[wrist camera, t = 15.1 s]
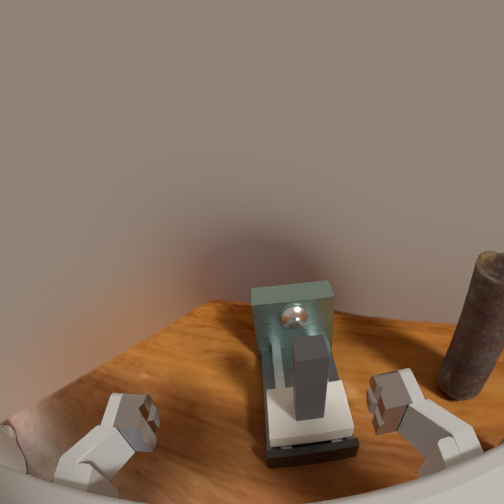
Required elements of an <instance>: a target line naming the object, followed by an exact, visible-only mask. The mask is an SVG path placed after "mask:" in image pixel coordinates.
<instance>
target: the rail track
mask: <svg viewBox="0 0 504 504" xmlns="http://www.w3.org/2000/svg"><path fill="white" fill-rule="evenodd" d="M334 297H335V296H334V293H333V291H332V288H331V286H330V283H329V281H328V280H325V281H316V282H307V283H298V284H290V285H279V286H270V287H260V288H252V289H251V299H252V312H253V319H254V327H255V334H256V341H257V349H258V356H259V358H262V373H263V391H264V409H265V427H266V445H267V451H266V458H267V463H268V468H280V467H290V466H299V465H307V464H314V463H321V462H327V461H333V460H339V459H345V458H350V457H355V456H356V454H357V451H358V448H359V442H358V438H355V439H354V435H353V434H352V436H350V437H344V438H339V439H333V440H327V441H320V442H313V443H306V444H298V445H289V446H279V447H271V446H270V439H269V423H268V407H267V391H266V390H268V389H278V388H288V387H293V364H292V338H297V337H305V336H313V335H321V334H323V335H324V339H325V342H326V346H327V349H328V353H329V370H328V381H327V382H333V381H339V378H338V374H337V370H336V367H335V363H334V360H333V356H332V352H331V349H332V336H333V320H334Z"/></svg>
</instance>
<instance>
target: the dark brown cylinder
mask: <svg viewBox="0 0 504 504" xmlns="http://www.w3.org/2000/svg"><path fill="white" fill-rule="evenodd" d="M503 347H504V253H496V252H495V251H486V252H484V253H481V254H480V255H479V257H478V258H477V261H476V264H475V268H474V272H473V276H472V279H471V282H470V286H469V290H468V293H467V296H466V299H465V303H464V306H463V309H462V313H461V316H460V319H459V322H458V324H457V327H456V330H455V333H454V335H453V338H452V340H451V343H450V346H449V348H448V351H447V353H446V356H445V358H444V361H443V363H442V365H441V368H440V370H439V373H438V385H439V387H440V389H441V390H442V391H443V392H445V393H446V394H447V395H449V396H450V397H452V398H454V399H456V400H467V399H472V398H474V397H475V396H477V395H478V394H479V392H480V391H481V389H482V388H483V386H484V384H485V383H486V381H487V379H488V377H489V375H490V373H491V372H492V370H493V368H494V366H495V364H496V362H497V360H498V358H499V356H500V354H501V351H502V349H503Z"/></svg>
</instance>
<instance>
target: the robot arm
mask: <svg viewBox="0 0 504 504" xmlns="http://www.w3.org/2000/svg"><path fill="white" fill-rule="evenodd" d="M369 383H370V386H371V387H370V388H369V389H367V395H366V398H367V407H368V410H369V412H370V413H371V414H372V415H374V417H373V420H372V423H373V426H374V430H375V433H376V435H380V434H385V433H390V432H394V431H397V432H398V433H399V434H400V435H401V436H402V437H403V438H404V439H405V440H407V441H408V442H409V443H410V444H411V445H412V446H413V447H415V448H416V449H417V450H418V451H419V452H420V453H421V454H423V455H424V456H425V457H426V460H425V461H424V463H423V464H422V465H421V467H420V468H419V470H418V473H419V476H420V478H417V479H414V480H411V481H408V482H405V483H401V484H398V485H394V486H391V487H387V488H383V489H379V490H375V491H371V492H367V493H362V494H358V495H353V496H348V497H343V498H337V499H331V500H325V501H319V502H312V503H304V504H504V443H502V444H500V445H498V446H496V447H494V448H492V449H490V450H488V451H486V452H483V449H482V447H481V445H480V443H479V440H478V438H477V436H476V434H475V432H474V430H473V428H472V426H470V425H469V424H467V423H465V422H464V421H462V420H461V419H459V418H458V417H456V416H454V415H453V414H451V413H450V412H448V411H447V410H445V409H443V408H442V407H440V406H439V405H437V404H436V403H434V402H432V401H431V400H429V399H427V400H425V398H424V396H423V394H422V392H421V389H420V387H419V385H418V383H417V381H416V379H415V377H414V375H413V373H412V371H411V369H410V368H405V369H401V370H397V371H391V372H387V373H382V374H378V375H373V376H371V377H370V381H369ZM152 401H153V400H152V398H151V396H150V395H140V394H125V393H113V394H112V395H111V396H110V398H109V401H108V404H107V407H106V410H105V413H104V416H103V419H102V422H101V425H97V426H96V427H95V428H93V429H92V430H91V431H90V432H89V433H88V434H87V435H85V436H84V437H83V438H82V439H81V440H80V441H78V442H77V443H76V444H75V445H74V446H73V447H71V448H70V449H69V450H68V451H67V452H65V453H64V454H63V455H62V456H61V457H60V459H59V462H58V465H57V468H56V471H55V474H54V477H53V480H52V482H49V481H46V480H43V479H40V478H37V477H34V476H31V475H28V474H26V473H27V470H26V462H25V458H24V455H23V453H22V451H21V450H20V448H19V446H18V445H17V442H16V434H15V431H14V429H13V428H11V427H10V426H8V425H0V504H151V503H143V502H136V501H130V500H124V499H118V496H119V490H118V489H117V488H116V487H115V486H113V485H112V484H111V483H110V481H111V479H112V478H113V477H114V476H115V475H116V474H117V472H118V471H119V470H120V469H121V468H122V467H123V465H124V464H125V463H126V462H127V461H128V460H129V458H130V457H131V456H132V455H133V454H134V453H135V451H143V452H155V447H156V441H157V437H156V436H155V434H154V433H155V432H156V431H157V430H158V429H159V425H160V415H159V411H158V409H157V407H156V406H154V405H153V404H152Z"/></svg>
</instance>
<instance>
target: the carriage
mask: <svg viewBox="0 0 504 504" xmlns="http://www.w3.org/2000/svg"><path fill="white" fill-rule="evenodd" d="M292 364H293V387H288V388H278V389H268V390H266V391H267V407H268V423H269V439H270V446H271V447H279V446H289V445H298V444H306V443H313V442H320V441H327V440H333V439H339V438H344V437H350V436H352V434H353V430H354V424H353V421H352V417H351V413H350V409H349V405H348V402H347V398H346V394H345V391H344V387H343V383H342V380H340V381H333V382H327V381H328V370H329V353H328V349H327V346H326V342H325V339H324V335H323V334H321V335H313V336H305V337H297V338H292Z"/></svg>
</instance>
